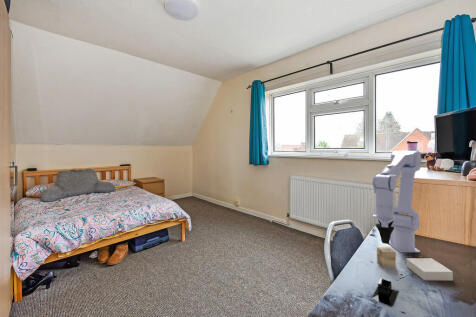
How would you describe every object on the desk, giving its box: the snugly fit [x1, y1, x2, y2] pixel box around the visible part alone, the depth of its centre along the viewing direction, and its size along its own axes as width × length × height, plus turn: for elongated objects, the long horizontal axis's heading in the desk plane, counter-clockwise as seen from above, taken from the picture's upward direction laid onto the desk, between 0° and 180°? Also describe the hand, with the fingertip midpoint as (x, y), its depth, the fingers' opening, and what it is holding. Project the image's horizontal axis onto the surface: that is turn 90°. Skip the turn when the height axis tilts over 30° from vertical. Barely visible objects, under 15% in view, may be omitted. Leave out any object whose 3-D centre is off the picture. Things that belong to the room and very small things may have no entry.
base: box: [405, 257, 454, 281], centre depth 78 cm, size 9×9×3 cm
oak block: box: [376, 246, 397, 268], centre depth 85 cm, size 4×4×6 cm
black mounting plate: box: [371, 278, 400, 308], centre depth 67 cm, size 12×7×5 cm, turn 134°
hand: (385, 239), depth 84 cm, fingers open, 7 cm apart
